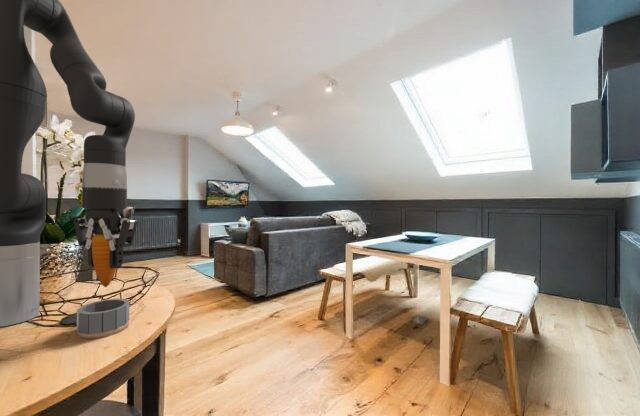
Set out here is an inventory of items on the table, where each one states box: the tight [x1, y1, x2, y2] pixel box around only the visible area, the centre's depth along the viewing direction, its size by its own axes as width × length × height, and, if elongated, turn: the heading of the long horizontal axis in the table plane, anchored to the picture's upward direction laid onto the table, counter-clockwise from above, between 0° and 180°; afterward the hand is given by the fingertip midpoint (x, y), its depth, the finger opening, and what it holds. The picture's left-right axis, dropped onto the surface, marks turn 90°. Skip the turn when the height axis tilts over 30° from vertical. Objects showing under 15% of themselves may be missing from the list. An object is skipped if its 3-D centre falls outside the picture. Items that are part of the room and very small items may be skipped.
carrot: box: [92, 220, 117, 288], centre depth 59 cm, size 5×5×15 cm
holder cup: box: [76, 298, 131, 340], centre depth 59 cm, size 9×9×5 cm
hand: (105, 266), depth 59 cm, fingers closed on carrot, 4 cm apart
